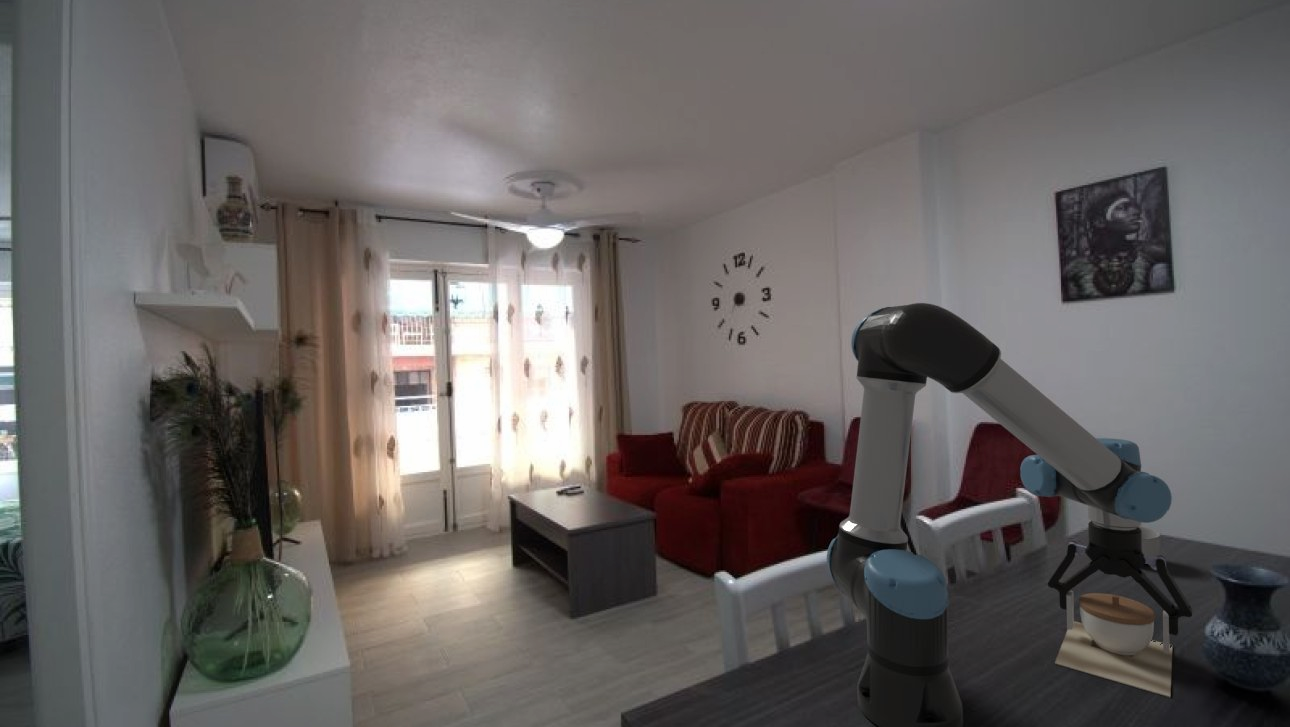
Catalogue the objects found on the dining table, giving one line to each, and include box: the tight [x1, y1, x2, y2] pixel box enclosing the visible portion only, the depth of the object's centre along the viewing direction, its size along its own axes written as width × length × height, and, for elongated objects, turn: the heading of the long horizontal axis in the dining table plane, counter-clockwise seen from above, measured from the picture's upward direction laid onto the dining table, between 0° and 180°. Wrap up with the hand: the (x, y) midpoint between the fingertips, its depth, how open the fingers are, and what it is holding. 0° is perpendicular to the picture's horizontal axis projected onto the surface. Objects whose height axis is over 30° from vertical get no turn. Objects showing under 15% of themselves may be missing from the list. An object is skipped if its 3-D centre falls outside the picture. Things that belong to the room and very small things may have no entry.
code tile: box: [1054, 620, 1173, 698], centre depth 102 cm, size 20×15×1 cm
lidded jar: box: [1078, 592, 1156, 656], centre depth 104 cm, size 11×11×9 cm
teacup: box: [1139, 525, 1161, 564], centre depth 145 cm, size 14×11×8 cm
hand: (1116, 638), depth 104 cm, fingers open, 13 cm apart
